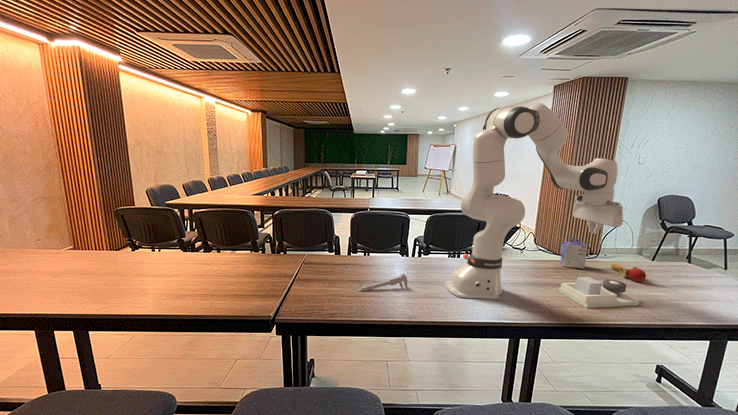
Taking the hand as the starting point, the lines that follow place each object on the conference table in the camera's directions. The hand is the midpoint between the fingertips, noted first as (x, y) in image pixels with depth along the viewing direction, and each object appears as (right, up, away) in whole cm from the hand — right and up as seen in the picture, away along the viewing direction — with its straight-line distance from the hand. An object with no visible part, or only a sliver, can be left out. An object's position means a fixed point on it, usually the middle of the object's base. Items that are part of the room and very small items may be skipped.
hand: (593, 232), depth 125 cm
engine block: (-7, -24, -6) cm, 25 cm away
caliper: (-86, -23, -2) cm, 89 cm away
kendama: (+30, -22, +19) cm, 42 cm away
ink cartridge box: (+12, -20, +31) cm, 38 cm away
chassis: (-2, -25, -5) cm, 26 cm away
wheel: (+5, -22, -5) cm, 23 cm away
